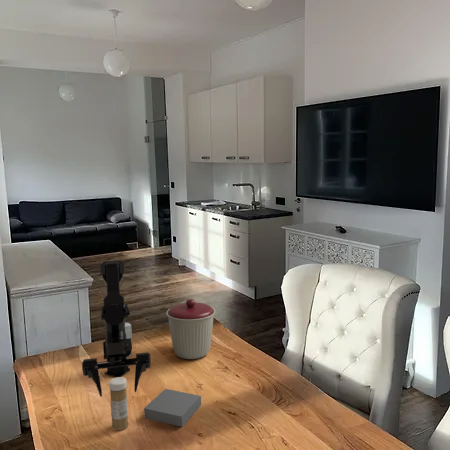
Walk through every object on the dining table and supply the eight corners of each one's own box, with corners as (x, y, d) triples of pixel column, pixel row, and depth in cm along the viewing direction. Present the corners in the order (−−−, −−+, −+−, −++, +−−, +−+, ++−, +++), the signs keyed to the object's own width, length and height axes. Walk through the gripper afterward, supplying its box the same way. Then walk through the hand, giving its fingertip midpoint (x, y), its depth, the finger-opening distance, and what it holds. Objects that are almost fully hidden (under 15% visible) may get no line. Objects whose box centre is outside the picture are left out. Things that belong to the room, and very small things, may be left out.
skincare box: (117, 360, 170) (115, 328, 169) (113, 356, 174) (111, 324, 172) (133, 356, 174) (131, 324, 172) (128, 352, 177) (127, 321, 176)
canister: (189, 340, 188) (187, 289, 185) (225, 351, 177) (224, 297, 174) (157, 356, 173) (155, 301, 170) (195, 368, 163) (193, 310, 160)
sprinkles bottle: (126, 420, 131) (124, 375, 129) (130, 428, 127) (128, 382, 125) (109, 424, 129) (107, 378, 127) (113, 433, 125) (111, 385, 123)
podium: (144, 418, 132) (144, 408, 132) (165, 397, 143) (165, 388, 143) (182, 426, 128) (181, 416, 127) (201, 405, 139) (200, 395, 138)
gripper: (80, 332, 129) (80, 388, 120) (148, 325, 133) (154, 379, 124) (83, 348, 138) (83, 402, 128) (147, 341, 142) (152, 393, 133)
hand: (118, 394), depth 128 cm, fingers open, 9 cm apart
